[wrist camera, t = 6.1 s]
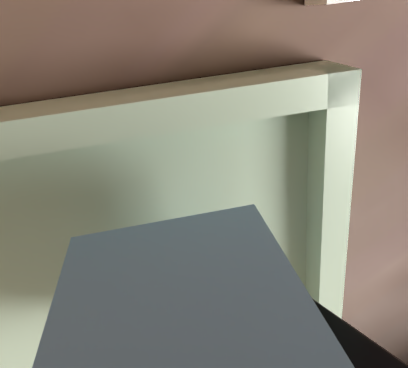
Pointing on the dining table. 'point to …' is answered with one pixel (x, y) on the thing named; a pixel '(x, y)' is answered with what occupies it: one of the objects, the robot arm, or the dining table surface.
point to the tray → (176, 175)
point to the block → (185, 300)
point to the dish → (324, 2)
